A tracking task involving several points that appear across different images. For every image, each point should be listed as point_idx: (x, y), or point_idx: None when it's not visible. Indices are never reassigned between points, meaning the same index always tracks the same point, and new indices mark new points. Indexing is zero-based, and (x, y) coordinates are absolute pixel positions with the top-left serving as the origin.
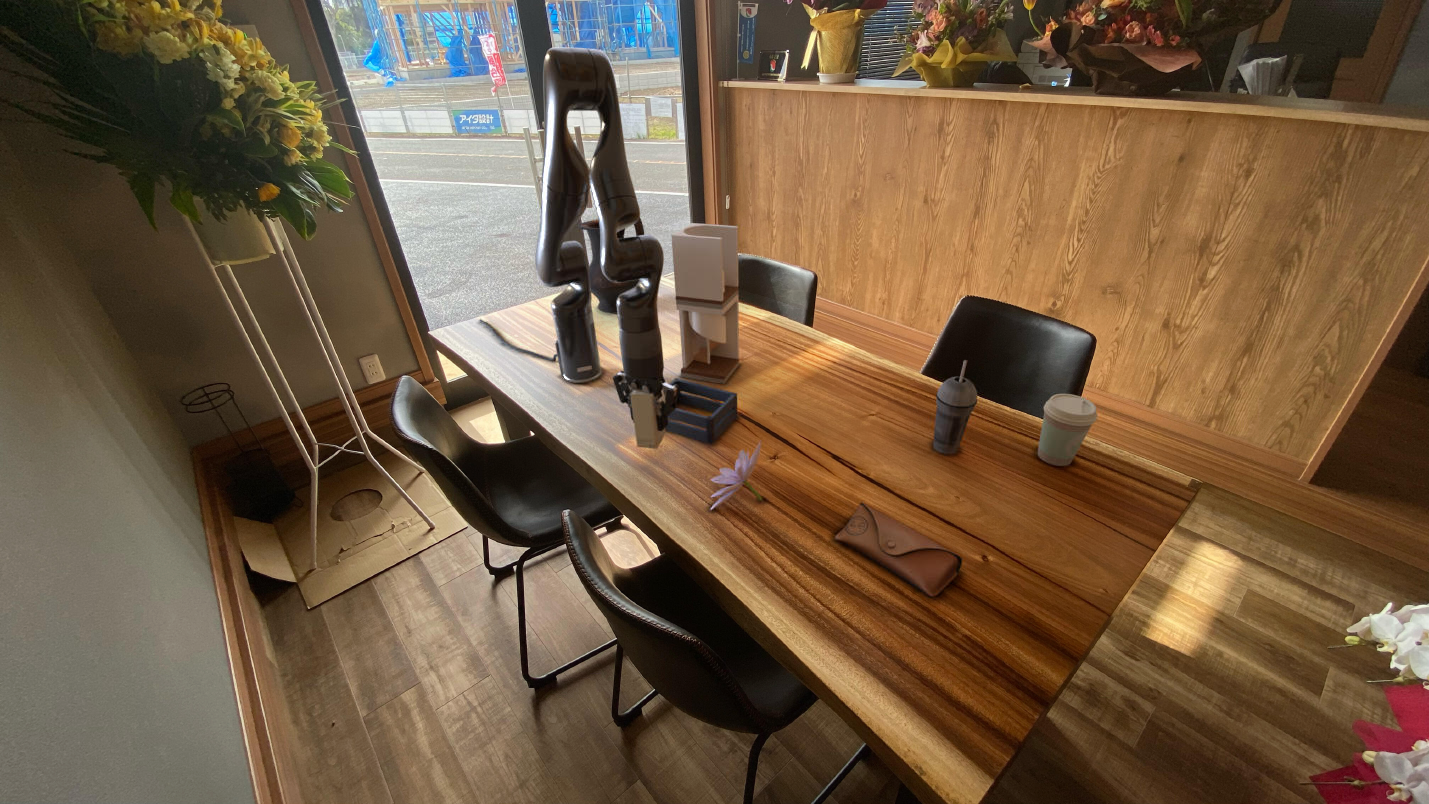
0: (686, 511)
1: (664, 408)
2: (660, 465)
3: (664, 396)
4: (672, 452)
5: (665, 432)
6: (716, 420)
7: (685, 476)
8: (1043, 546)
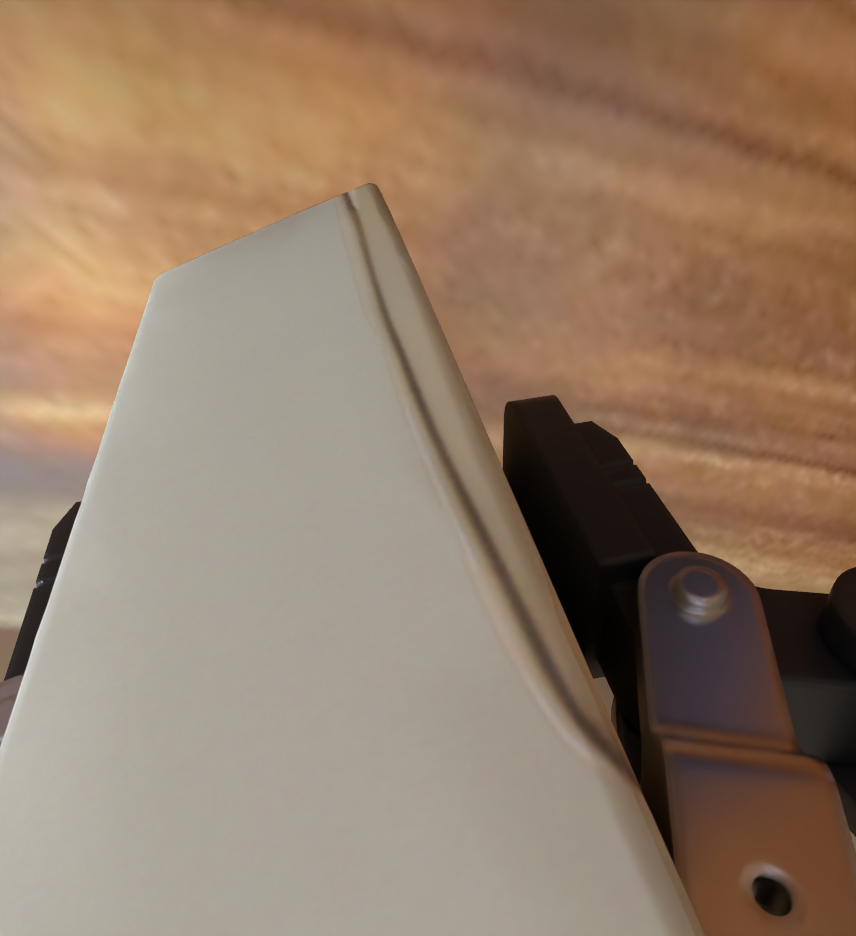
0: (792, 563)
1: (847, 821)
2: (495, 404)
3: (830, 809)
4: (490, 229)
5: (377, 187)
6: None
7: (706, 393)
8: None
